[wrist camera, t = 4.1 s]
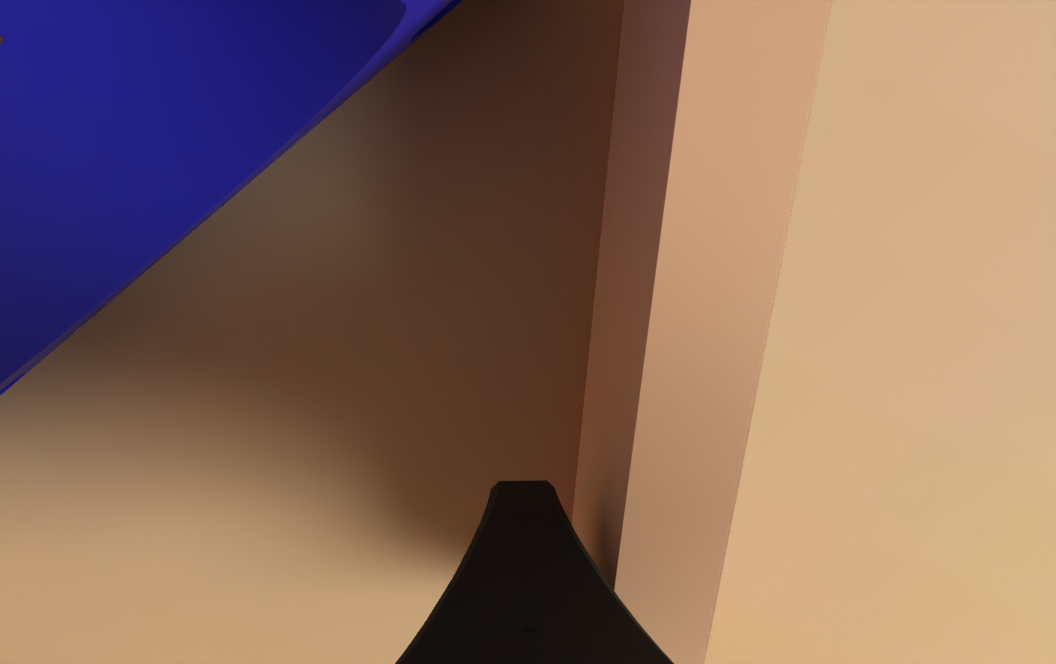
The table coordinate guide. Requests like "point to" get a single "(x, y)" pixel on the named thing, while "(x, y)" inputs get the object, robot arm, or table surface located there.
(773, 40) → the bar
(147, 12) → the blue pipe saddle
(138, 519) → the table surface
